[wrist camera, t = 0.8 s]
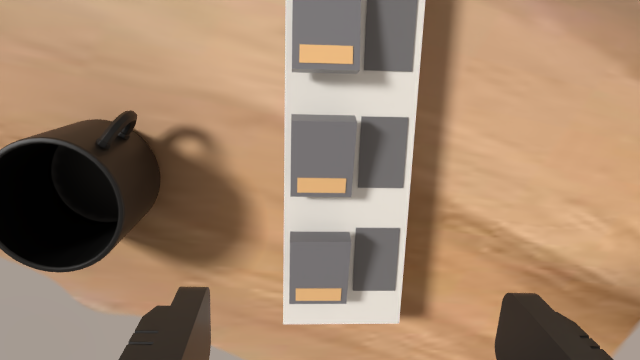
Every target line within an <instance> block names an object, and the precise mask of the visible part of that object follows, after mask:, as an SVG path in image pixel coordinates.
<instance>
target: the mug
mask: <svg viewBox="0 0 640 360" xmlns="http://www.w3.org/2000/svg"><path fill="white" fill-rule="evenodd" d="M136 120H137V114H136V113H135V112H134V111H125V112H123V113H122V114H120V115H119V116H118V117H117V118H116V119H115V120H114V121H113V122H111V121H107V120H98V119H96V120H85V121H81V122H77V123H74V124H71V125H67V126H64V127H61V128H57V129H54V130H51V131H47V132H44V133H41V134H37V135H34V136H31V137H28V138H24V139H21V140H18V141H16V142H13V143H11V144H9V145H7V146H5V147H4V148H2V149H1V150H0V249H1V250H3V251H4V252H5V253H6V254H7V255H9V256H10V257H12V258H13V259H15V260H16V261H18V262H20V263H22V264H24V265H26V266H29V267H32V268H35V269H38V270H43V271H48V272H70V271H76V270H80V269H83V268H86V267H89V266H91V265H93V264H95V263H96V262H98V261H100V260H101V259H103V258H104V257H105V256H106V255H107V254H108V253H109V252H110V251H111V250H112V249H113V248H114V247H115V246H116V245H117V244H118V243H119V242H120V241H121V240H122V239H123V237H124V236H125V235H126V234H127V233H128V232H129V231H130V230H131V229H132V228H133V227H134V226H135V225H136V224H137V223H138V222H139V220H140V219H141V218H142V217H143V216H144V215H145V214H146V213H147V212H148V211H149V210H150V208H151V207H152V205H153V204H154V202H155V200H156V198H157V195H158V192H159V187H160V173H159V167H158V164H157V161H156V158H155V156H154V154H153V152H152V151H151V149H150V148H149V146H148V145H147V143H146V142H145V141H144V140H143V139H142V138H141V137H140V136H139V135H137V134H136V133H135V132H134V131H132V130H133V128H134V126H135V124H136Z"/></svg>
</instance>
